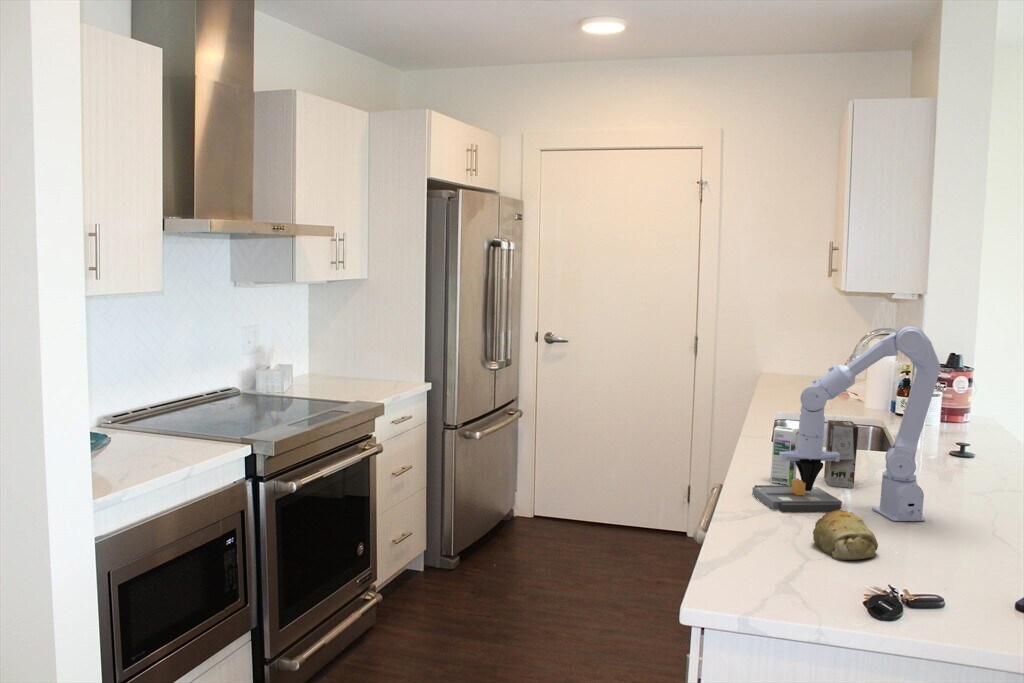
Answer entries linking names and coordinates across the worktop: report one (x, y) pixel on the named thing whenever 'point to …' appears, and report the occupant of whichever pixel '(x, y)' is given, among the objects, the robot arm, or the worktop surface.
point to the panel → (791, 496)
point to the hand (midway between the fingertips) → (806, 489)
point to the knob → (798, 487)
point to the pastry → (844, 536)
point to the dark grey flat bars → (804, 504)
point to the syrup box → (784, 442)
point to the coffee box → (841, 453)
